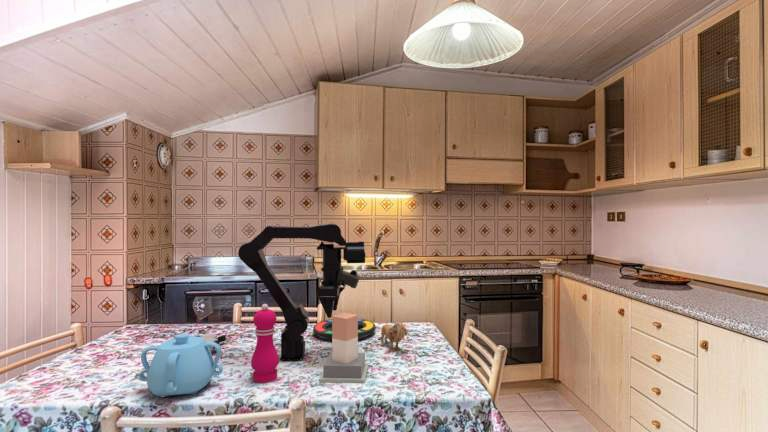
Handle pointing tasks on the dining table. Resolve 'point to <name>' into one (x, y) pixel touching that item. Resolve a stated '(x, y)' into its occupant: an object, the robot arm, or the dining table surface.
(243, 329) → the dining table surface
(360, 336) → the electronic game
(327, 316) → the robot arm
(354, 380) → the base brick
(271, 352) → the pepper mill
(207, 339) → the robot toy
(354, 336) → the brick column
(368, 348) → the dining table surface
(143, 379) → the decorative pot
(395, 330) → the lion figurine
